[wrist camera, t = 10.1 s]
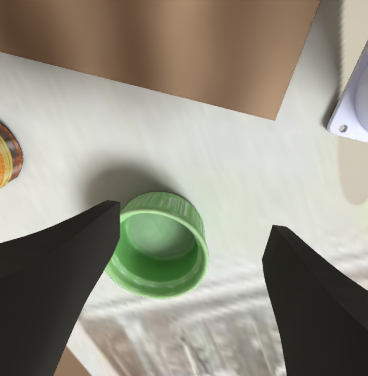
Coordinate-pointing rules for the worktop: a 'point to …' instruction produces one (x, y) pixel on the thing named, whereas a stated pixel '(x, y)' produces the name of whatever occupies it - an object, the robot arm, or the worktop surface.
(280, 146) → the worktop surface
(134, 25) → the baseplate
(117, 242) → the robot arm
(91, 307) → the worktop surface
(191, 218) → the ramekin
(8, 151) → the sauce bottle
